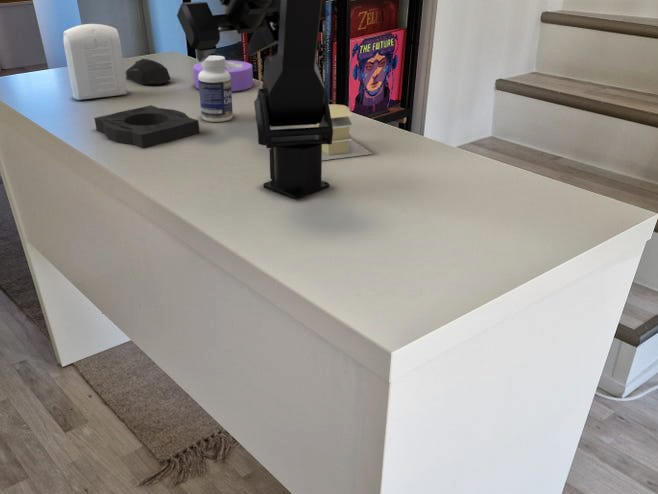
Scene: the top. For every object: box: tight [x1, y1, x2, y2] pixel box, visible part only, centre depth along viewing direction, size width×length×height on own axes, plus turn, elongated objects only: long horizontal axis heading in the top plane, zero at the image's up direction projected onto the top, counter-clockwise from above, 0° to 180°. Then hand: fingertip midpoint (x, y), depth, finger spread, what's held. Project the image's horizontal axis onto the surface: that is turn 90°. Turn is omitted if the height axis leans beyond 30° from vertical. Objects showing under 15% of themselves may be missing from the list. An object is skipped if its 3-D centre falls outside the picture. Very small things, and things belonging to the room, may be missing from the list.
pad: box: [94, 104, 201, 149], centre depth 108 cm, size 13×13×2 cm
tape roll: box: [192, 59, 254, 93], centre depth 133 cm, size 12×12×4 cm
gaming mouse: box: [125, 58, 171, 86], centre depth 137 cm, size 6×15×4 cm, turn 43°
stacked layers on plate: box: [313, 103, 373, 161], centre depth 101 cm, size 10×9×6 cm
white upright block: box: [62, 23, 128, 101], centre depth 123 cm, size 10×4×12 cm, turn 123°
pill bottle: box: [198, 55, 234, 123], centre depth 113 cm, size 5×5×10 cm
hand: (224, 56), depth 107 cm, fingers open, 9 cm apart
